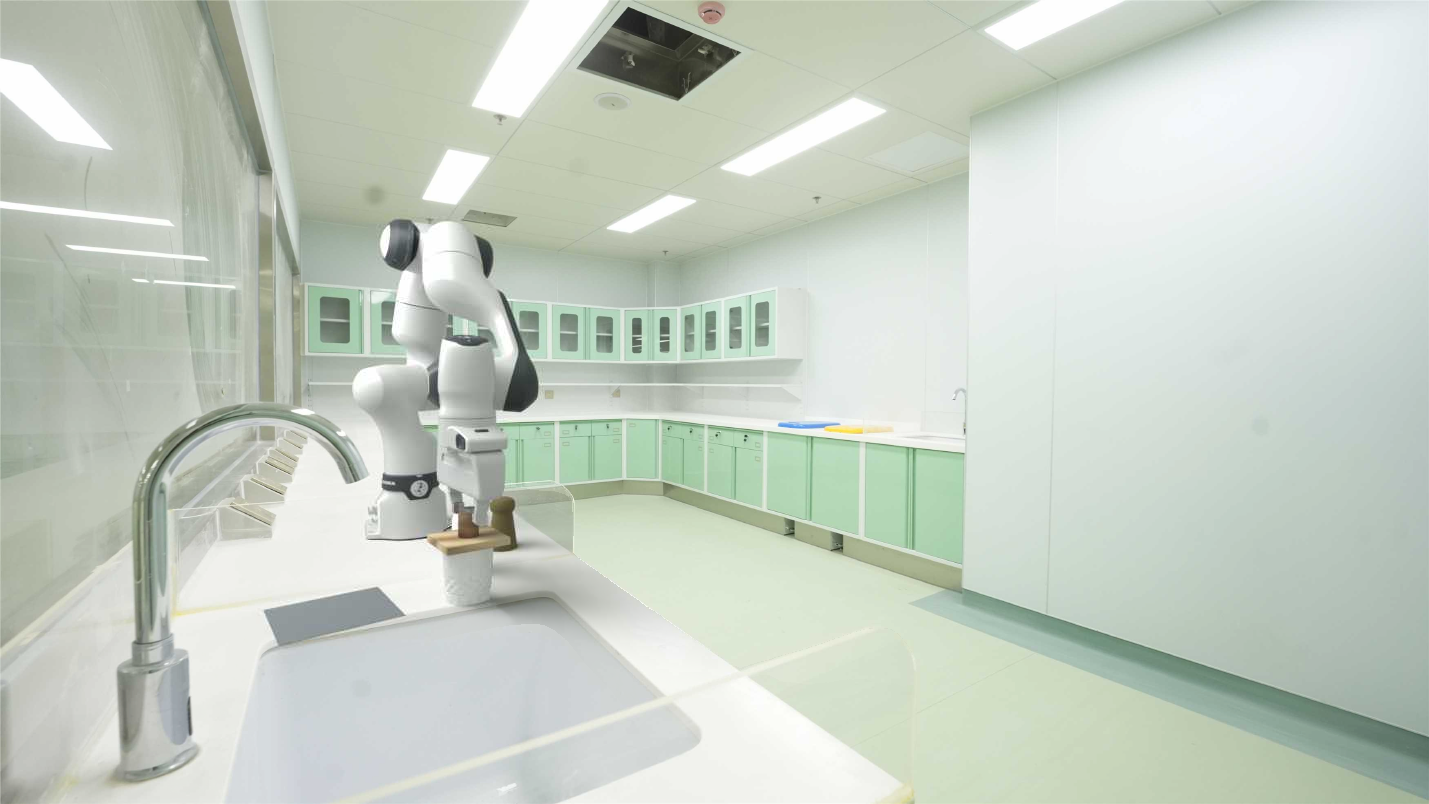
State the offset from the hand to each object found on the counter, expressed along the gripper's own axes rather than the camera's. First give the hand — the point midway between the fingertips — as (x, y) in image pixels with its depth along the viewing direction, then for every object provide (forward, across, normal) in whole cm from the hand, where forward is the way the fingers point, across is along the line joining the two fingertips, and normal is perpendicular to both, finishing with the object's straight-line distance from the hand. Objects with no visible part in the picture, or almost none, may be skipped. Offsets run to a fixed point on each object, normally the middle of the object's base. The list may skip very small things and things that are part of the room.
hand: (468, 518), depth 101 cm
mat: (+14, -7, -18) cm, 24 cm away
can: (+14, -15, +6) cm, 22 cm away
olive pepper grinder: (+14, -26, +17) cm, 34 cm away
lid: (+4, 0, 0) cm, 4 cm away
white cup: (+14, 0, 0) cm, 14 cm away
